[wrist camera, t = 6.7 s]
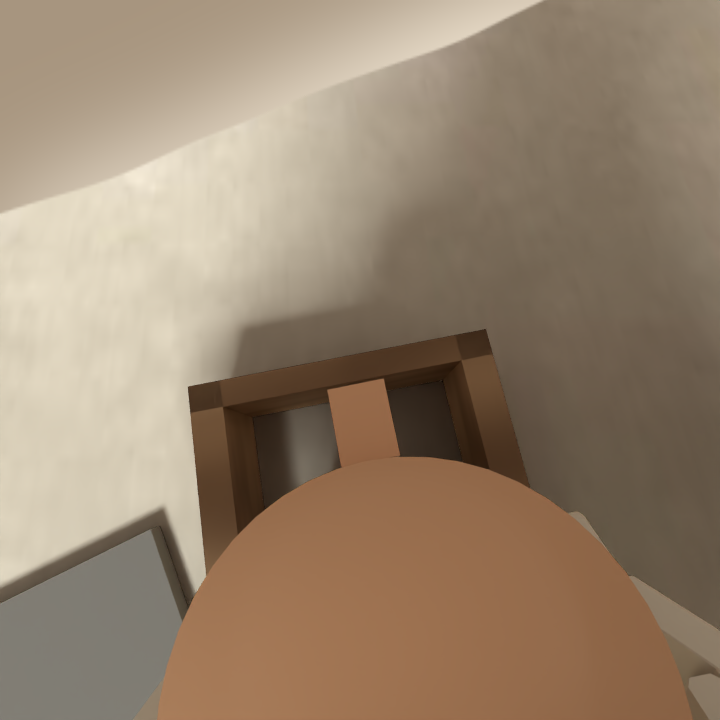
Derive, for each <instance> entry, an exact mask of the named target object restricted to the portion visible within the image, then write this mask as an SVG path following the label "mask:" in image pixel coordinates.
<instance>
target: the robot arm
mask: <svg viewBox="0 0 720 720" xmlns="http://www.w3.org/2000/svg"><path fill="white" fill-rule="evenodd" d="M568 514H569V515H571V516H572V517H573V518H575V519H576V520H577V521H578V522H579V523H580V524H581V525H582V526H583V527H584V528H585V529H586V530H588V531H589V532H590V533H591V534H592V535H593V536H594V537H595V538H596V539H597V540H598V541H599V542H600V543H601V544H602V545H603V546H604V547H605V548H606V546H605V545H604V544H603V542H602V541H601V539H600V538H599V536H598V535H597V533H596V532H595V531H594V529H593V528H592V526H591V525H590V523H589V522H588V520H587V519H586V518H585V516H584V515H583V514H581V513H580V512H577V511H575V512H570V513H568ZM606 549H607V548H606ZM607 551H608V549H607ZM608 552H609V551H608ZM609 553H610V552H609ZM629 578H630V579H631V580H632V582H633V583H634V585H635V586H636V588H637V589H638V591H639V592H640V594H641V595H642V597H643V598H644V600H645V601H646V603H647V604H648V606H649V608H650V610H651V612H652V614H653V615H654V617H655V619H656V621H657V623H658V625H659V627H660V629H661V631H662V633H663V634H664V636H665V638H666V640H667V643H668V645H669V648H670V650H671V653H672V655H673V658H674V660H675V663H676V665H677V668H678V670H679V673H680V675H681V678H682V681H683V685H684V689H685V692H686V696H687V699H688V703H689V707H690V710H691V714H692V718H693V720H720V630H718V629H717V628H715V627H714V626H712V625H710V624H709V623H707V622H706V621H704V620H703V619H701V618H699V617H698V616H696V615H695V614H693V613H691V612H690V611H688V610H687V609H685V608H684V607H682V606H680V605H679V604H677V603H676V602H674V601H673V600H671V599H669V598H668V597H666V596H665V595H663V594H661V593H660V592H658V591H657V590H655V589H654V588H652V587H650V586H649V585H647V584H646V583H644V582H643V581H641V580H639V579H638V578H636V577H635V576H629ZM199 588H200V587H199ZM163 682H164V678H163V680H162V681H161V682H160V684H159V685H158V686H157V688H156V689H155V690H154V692H153V693H152V695H151V696H150V697H149V699H148V700H147V701H146V703H145V704H144V705H143V707H142V708H141V709H140V711H139V712H138V714H137V715H136V716H135V718H134V719H133V720H157V716H158V706H159V701H160V696H161V691H162V687H163Z"/></svg>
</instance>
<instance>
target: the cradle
mask: <svg viewBox="0 0 720 720" xmlns="http://www.w3.org/2000/svg"><path fill="white" fill-rule="evenodd" d="M383 378H384V383H385V387H386V391H389V390H394V389H399V388H404V387H409V386H415V385H420V384H425V383H430V382H435V381H440V380H443V383H444V387H445V391H446V395H447V399H448V403H449V408H450V412H451V416H452V420H453V424H454V428H455V432H456V436H457V440H458V444H459V448H460V452H461V456H462V461H463V463H466V464H470V465H474V466H477V467H481V468H485V469H488V470H491V471H493V472H496V473H498V474H500V475H503V476H505V477H508V478H510V479H513V480H515V481H517V482H519V483H521V484H523V485H525V486H526V487H528V488H530V486H529V483H528V479H527V475H526V472H525V468H524V465H523V461H522V457H521V454H520V450H519V447H518V443H517V439H516V436H515V432H514V429H513V425H512V421H511V418H510V414H509V411H508V407H507V403H506V400H505V396H504V393H503V389H502V385H501V382H500V378H499V375H498V371H497V367H496V364H495V360H494V357H493V353H492V349H491V346H490V342H489V339H488V335H487V331H486V329H484V330H479V331H474V332H468V333H463V334H458V335H453V336H448V337H443V338H437V339H432V340H427V341H422V342H417V343H411V344H406V345H401V346H396V347H391V348H386V349H380V350H375V351H370V352H365V353H360V354H354V355H349V356H344V357H339V358H334V359H329V360H323V361H318V362H313V363H308V364H303V365H297V366H292V367H287V368H282V369H277V370H272V371H266V372H261V373H256V374H251V375H246V376H240V377H235V378H230V379H225V380H220V381H215V382H209V383H204V384H199V385H194V386H189V387H188V393H189V403H190V414H191V424H192V434H193V444H194V454H195V465H196V475H197V485H198V495H199V506H200V516H201V526H202V536H203V546H204V557H205V567H206V576H207V574H208V573H209V571H210V570H211V568H212V566H213V565H214V564H215V562H216V561H217V560H218V559H219V557H220V556H221V555H222V553H223V552H224V551H225V550H226V548H227V547H228V546H229V545H230V543H231V542H232V541H233V539H234V538H235V537H236V536H237V535H238V534H239V533H240V532H241V531H242V530H243V529H244V528H245V527H246V526H247V525H248V524H249V523H250V522H251V521H252V520H253V519H254V518H255V517H256V516H258V515H259V514H260V513H262V512H263V511H264V510H265V508H264V501H263V493H262V485H261V478H260V470H259V463H258V455H257V448H256V440H255V433H254V425H253V418H252V417H256V416H261V415H266V414H271V413H277V412H282V411H287V410H292V409H297V408H302V407H307V406H312V405H317V404H323V403H328V402H329V396H328V391H327V390H329V389H334V388H339V387H344V386H349V385H354V384H359V383H364V382H368V381H373V380H378V379H383Z"/></svg>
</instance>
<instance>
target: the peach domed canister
mask: <svg viewBox="0 0 720 720" xmlns="http://www.w3.org/2000/svg"><path fill="white" fill-rule="evenodd" d="M327 391H328V396H329V402H330V408H331V413H332V419H333V424H334V430H335V435H336V441H337V447H338V452H339V458H340V463H341V467H342V468H339V469H336V470H333V471H331V472H329V473H326V474H324V475H321V476H319V477H317V478H314V479H312V480H310V481H308V482H306V483H304V484H303V485H301V486H299V487H297V488H296V489H294V490H292V491H291V492H289V493H287V494H286V495H284V496H282V497H281V498H280V499H278V500H277V501H276V502H274V503H273V504H272V505H271V506H269V507H268V508H267V509H265V510H264V511H263V512H262V513H260V514H259V515H258V516H256V517H255V518H254V519H253V520H252V521H251V522H250V523H249V524H248V525H247V526H246V527H245V528H244V529H243V530H242V531H241V532H240V533H239V534H238V535H237V536H236V537H235V538H234V539H233V541H232V542H231V543H230V545H229V546H228V547H227V548H226V550H225V551H224V552H223V553H222V555H221V556H220V557H219V559H218V560H217V561H216V562H215V564H214V565H213V566H212V568H211V570H210V571H209V573H208V574H207V576H206V578H205V579H204V581H203V583H202V584H201V586H200V588H199V589H198V591H197V593H196V594H195V596H194V598H193V600H192V602H191V604H190V607H189V609H188V611H187V613H186V615H185V617H184V620H183V622H182V624H181V626H180V628H179V631H178V634H177V637H176V640H175V643H174V646H173V649H172V652H171V655H170V658H169V661H168V664H167V668H166V672H165V677H164V682H163V687H162V691H161V696H160V701H159V706H158V716H157V720H693V718H692V714H691V710H690V707H689V703H688V699H687V696H686V692H685V689H684V685H683V681H682V678H681V675H680V673H679V670H678V668H677V665H676V663H675V660H674V658H673V655H672V653H671V650H670V648H669V645H668V643H667V640H666V638H665V636H664V634H663V633H662V631H661V629H660V627H659V625H658V623H657V621H656V619H655V617H654V615H653V614H652V612H651V610H650V608H649V606H648V604H647V603H646V601H645V600H644V598H643V597H642V595H641V594H640V592H639V591H638V589H637V588H636V586H635V585H634V583H633V582H632V580H631V579H630V578H629V576H628V575H627V573H626V572H625V571H624V569H623V568H622V567H621V566H620V565H619V564H618V562H617V561H616V560H615V559H614V558H613V556H612V555H611V554H610V553H609V552H608V551H607V549H606V548H605V547H604V546H603V545H602V544H601V543H600V542H599V541H598V540H597V539H596V538H595V537H594V536H593V535H592V534H591V533H590V532H589V531H588V530H586V529H585V528H584V527H583V526H582V525H581V524H580V523H579V522H578V521H577V520H576V519H575V518H573V517H572V516H571V515H569V514H568V513H566V512H565V511H564V510H562V509H561V508H560V507H558V506H557V505H556V504H554V503H553V502H552V501H550V500H549V499H548V498H546V497H544V496H542V495H540V494H539V493H537V492H535V491H533V490H532V489H530V488H528V487H526V486H525V485H523V484H521V483H519V482H517V481H515V480H513V479H510V478H508V477H505V476H503V475H500V474H498V473H496V472H493V471H491V470H488V469H485V468H481V467H477V466H474V465H470V464H466V463H463V462H459V461H453V460H446V459H438V458H431V457H397V456H400V453H399V448H398V443H397V439H396V434H395V429H394V425H393V420H392V415H391V411H390V406H389V401H388V397H387V392H386V387H385V383H384V378H383V379H378V380H373V381H368V382H364V383H359V384H354V385H349V386H344V387H339V388H334V389H329V390H327Z"/></svg>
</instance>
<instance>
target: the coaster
mask: <svg viewBox="0 0 720 720" xmlns="http://www.w3.org/2000/svg"><path fill="white" fill-rule="evenodd" d="M188 609H189V608H188V606H187V603H186V600H185V597H184V594H183V591H182V588H181V585H180V583H179V580H178V577H177V574H176V571H175V568H174V565H173V562H172V560H171V557H170V554H169V551H168V548H167V545H166V542H165V539H164V537H163V534H162V531H161V528H160V526H158V527H155V528H152V529H150V530H148V531H146V532H144V533H142V534H140V535H138V536H135V537H133V538H131V539H129V540H127V541H125V542H123V543H121V544H119V545H117V546H115V547H113V548H111V549H109V550H107V551H105V552H103V553H101V554H99V555H97V556H95V557H93V558H91V559H89V560H87V561H85V562H83V563H81V564H79V565H77V566H75V567H73V568H71V569H69V570H67V571H65V572H63V573H61V574H59V575H56V576H54V577H52V578H50V579H48V580H46V581H44V582H42V583H40V584H38V585H36V586H34V587H32V588H30V589H28V590H26V591H24V592H22V593H20V594H18V595H16V596H14V597H12V598H10V599H8V600H6V601H4V602H2V603H0V720H133V719H134V718H135V716H136V715H137V714H138V712H139V711H140V709H141V708H142V707H143V705H144V704H145V703H146V701H147V700H148V699H149V697H150V696H151V695H152V693H153V692H154V690H155V689H156V688H157V686H158V685H159V684H160V682H161V681H162V680H163V678H164V677H165V672H166V668H167V664H168V661H169V658H170V655H171V652H172V649H173V646H174V643H175V640H176V637H177V634H178V631H179V628H180V626H181V624H182V622H183V620H184V617H185V615H186V613H187V611H188Z"/></svg>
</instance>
